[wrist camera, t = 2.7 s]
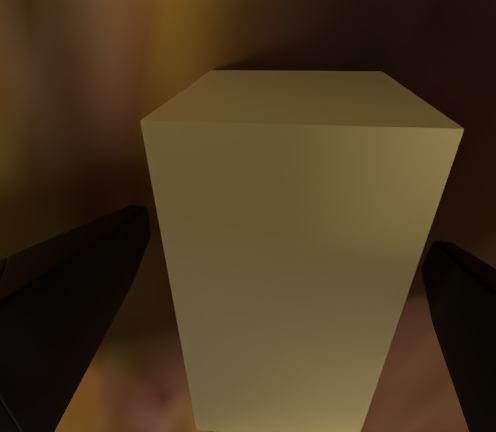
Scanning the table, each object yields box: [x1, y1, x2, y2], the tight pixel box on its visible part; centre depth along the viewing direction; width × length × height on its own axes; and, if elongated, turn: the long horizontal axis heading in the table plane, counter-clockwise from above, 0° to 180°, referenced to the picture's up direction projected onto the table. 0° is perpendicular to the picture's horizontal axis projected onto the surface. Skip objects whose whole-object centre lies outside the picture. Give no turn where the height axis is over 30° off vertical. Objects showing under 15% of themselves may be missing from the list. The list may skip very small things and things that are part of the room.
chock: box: [140, 70, 464, 432], centre depth 8 cm, size 4×8×4 cm, turn 1°
